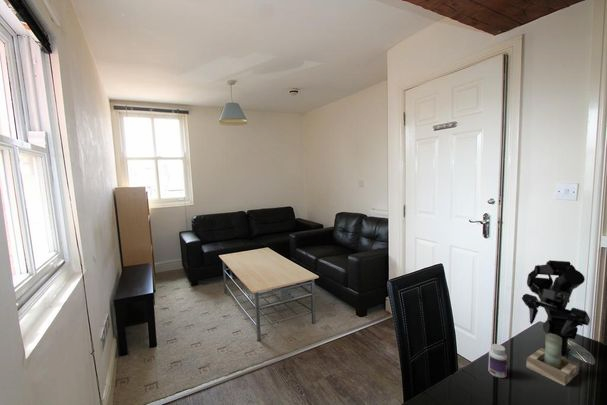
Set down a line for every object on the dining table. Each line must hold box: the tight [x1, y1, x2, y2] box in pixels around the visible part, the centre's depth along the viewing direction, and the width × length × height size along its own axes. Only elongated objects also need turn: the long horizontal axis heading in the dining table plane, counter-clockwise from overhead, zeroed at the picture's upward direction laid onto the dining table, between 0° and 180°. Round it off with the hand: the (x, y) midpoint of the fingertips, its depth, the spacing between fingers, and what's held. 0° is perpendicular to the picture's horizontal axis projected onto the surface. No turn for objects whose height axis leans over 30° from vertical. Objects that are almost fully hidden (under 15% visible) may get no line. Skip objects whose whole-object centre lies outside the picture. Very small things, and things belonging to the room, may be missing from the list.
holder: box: [525, 347, 580, 387], centre depth 104 cm, size 11×11×4 cm
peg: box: [543, 333, 562, 370], centre depth 104 cm, size 4×4×12 cm
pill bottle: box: [487, 343, 508, 379], centre depth 104 cm, size 5×5×10 cm
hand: (545, 328), depth 107 cm, fingers open, 9 cm apart
